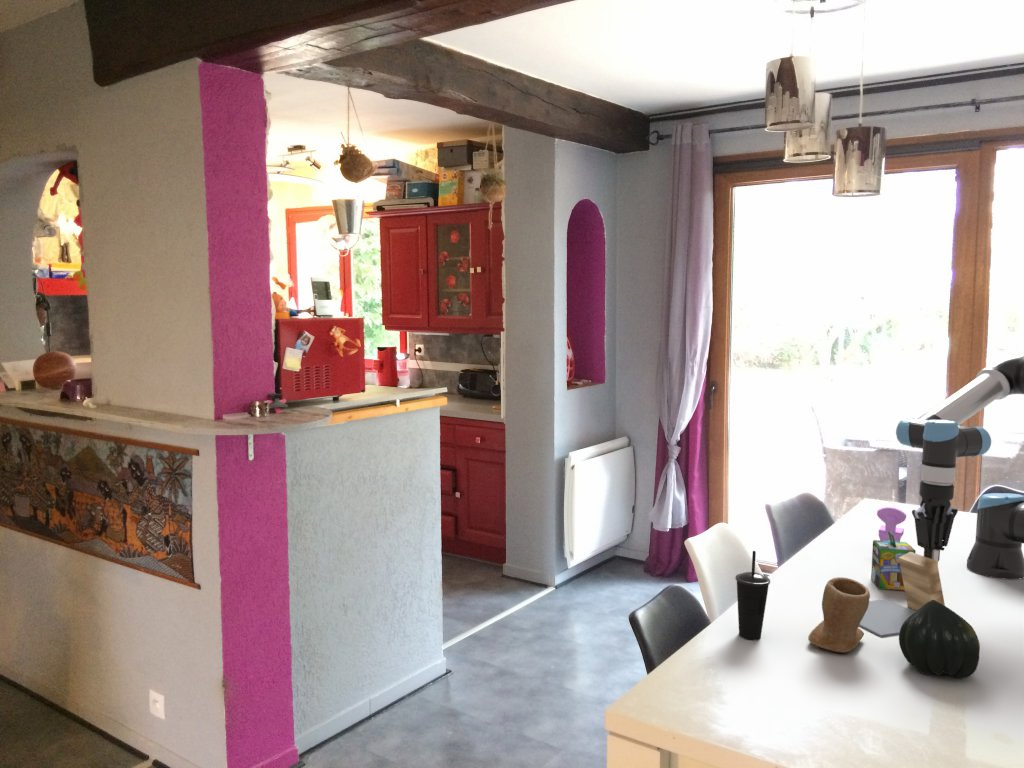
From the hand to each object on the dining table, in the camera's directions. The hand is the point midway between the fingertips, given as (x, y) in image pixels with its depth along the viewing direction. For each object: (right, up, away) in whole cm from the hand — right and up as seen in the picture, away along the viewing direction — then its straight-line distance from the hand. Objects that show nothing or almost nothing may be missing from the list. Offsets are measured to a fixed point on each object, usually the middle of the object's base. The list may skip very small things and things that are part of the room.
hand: (930, 574), depth 200 cm
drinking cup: (-50, -10, -17) cm, 54 cm away
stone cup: (-31, -11, -20) cm, 39 cm away
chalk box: (0, -8, +20) cm, 22 cm away
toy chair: (+14, -6, +51) cm, 53 cm away
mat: (-14, -10, -4) cm, 17 cm away
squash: (-16, -13, -33) cm, 38 cm away
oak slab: (-1, -9, +1) cm, 9 cm away
